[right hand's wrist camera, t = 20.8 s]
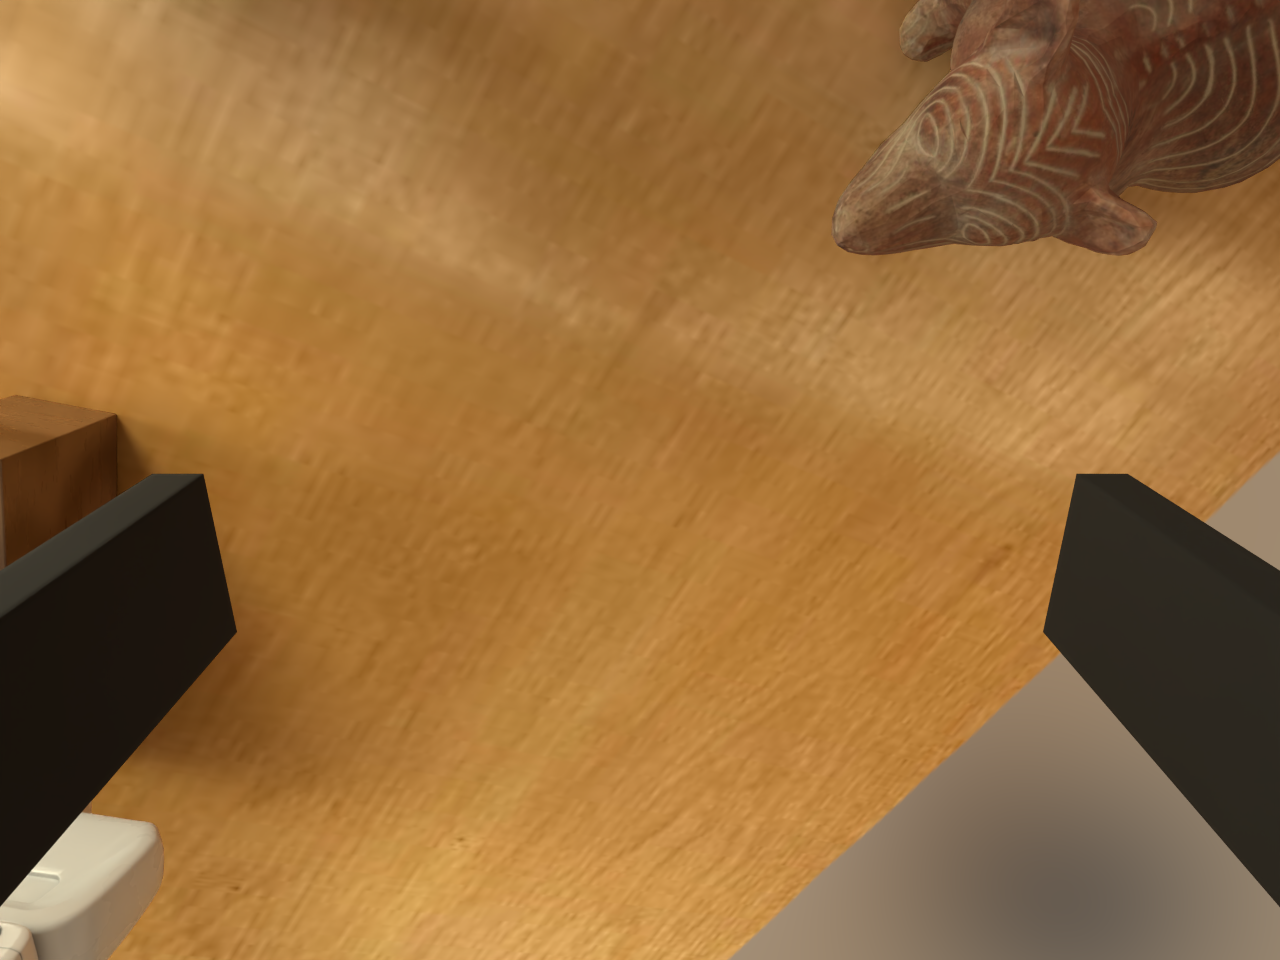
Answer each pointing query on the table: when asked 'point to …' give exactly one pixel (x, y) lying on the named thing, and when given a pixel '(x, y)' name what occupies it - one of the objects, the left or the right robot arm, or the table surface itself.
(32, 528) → the bar
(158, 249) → the table surface
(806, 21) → the table surface
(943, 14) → the sculpture
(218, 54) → the table surface
